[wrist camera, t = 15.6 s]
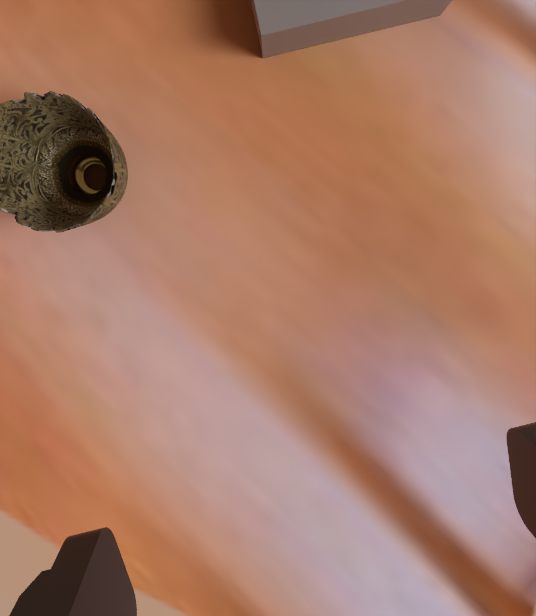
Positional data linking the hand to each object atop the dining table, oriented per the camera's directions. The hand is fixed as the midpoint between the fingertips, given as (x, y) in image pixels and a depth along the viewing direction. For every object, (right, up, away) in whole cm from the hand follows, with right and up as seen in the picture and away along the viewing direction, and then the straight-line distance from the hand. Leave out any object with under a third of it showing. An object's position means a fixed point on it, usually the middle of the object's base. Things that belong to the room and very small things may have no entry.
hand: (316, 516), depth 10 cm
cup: (-13, +13, +25) cm, 31 cm away
